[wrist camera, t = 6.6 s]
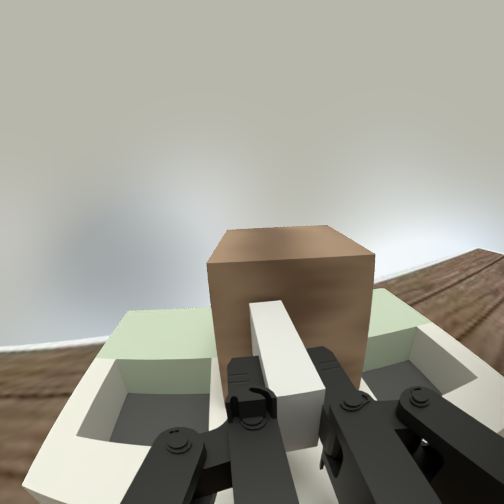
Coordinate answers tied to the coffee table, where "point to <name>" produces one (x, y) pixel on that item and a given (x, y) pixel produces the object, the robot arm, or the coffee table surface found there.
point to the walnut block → (293, 290)
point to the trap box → (212, 402)
